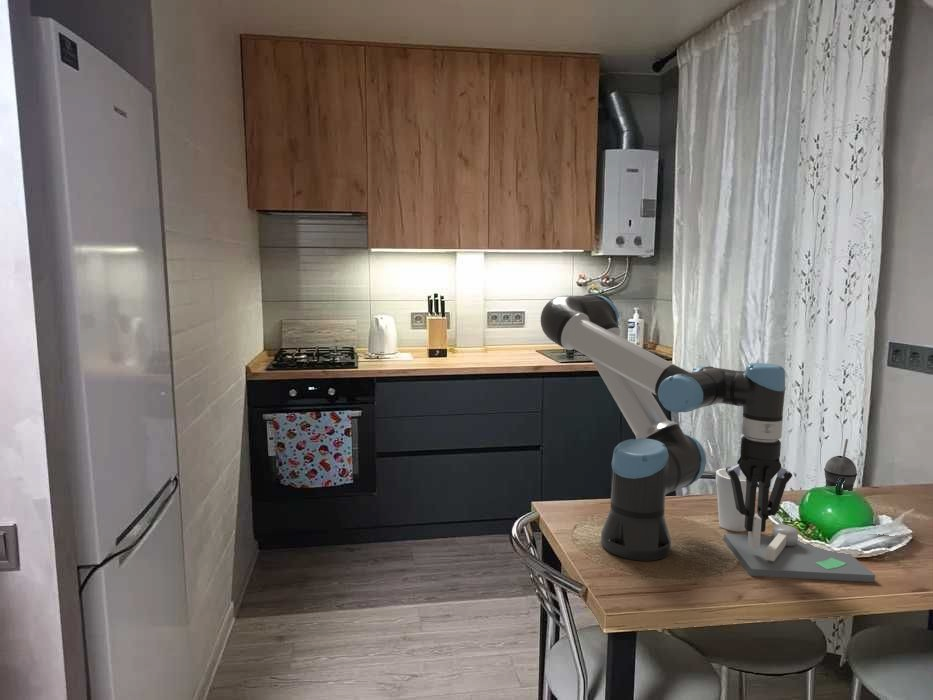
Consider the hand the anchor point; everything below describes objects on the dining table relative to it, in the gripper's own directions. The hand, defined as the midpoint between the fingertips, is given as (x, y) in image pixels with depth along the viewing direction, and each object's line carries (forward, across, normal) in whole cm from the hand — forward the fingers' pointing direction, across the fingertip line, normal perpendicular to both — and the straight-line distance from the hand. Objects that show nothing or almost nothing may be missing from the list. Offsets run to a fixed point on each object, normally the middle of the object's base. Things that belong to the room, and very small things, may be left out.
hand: (753, 545), depth 132 cm
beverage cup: (+4, +31, +29) cm, 43 cm away
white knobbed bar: (+2, +6, +3) cm, 7 cm away
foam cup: (+4, +2, +19) cm, 19 cm away
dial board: (+4, +9, +2) cm, 10 cm away
